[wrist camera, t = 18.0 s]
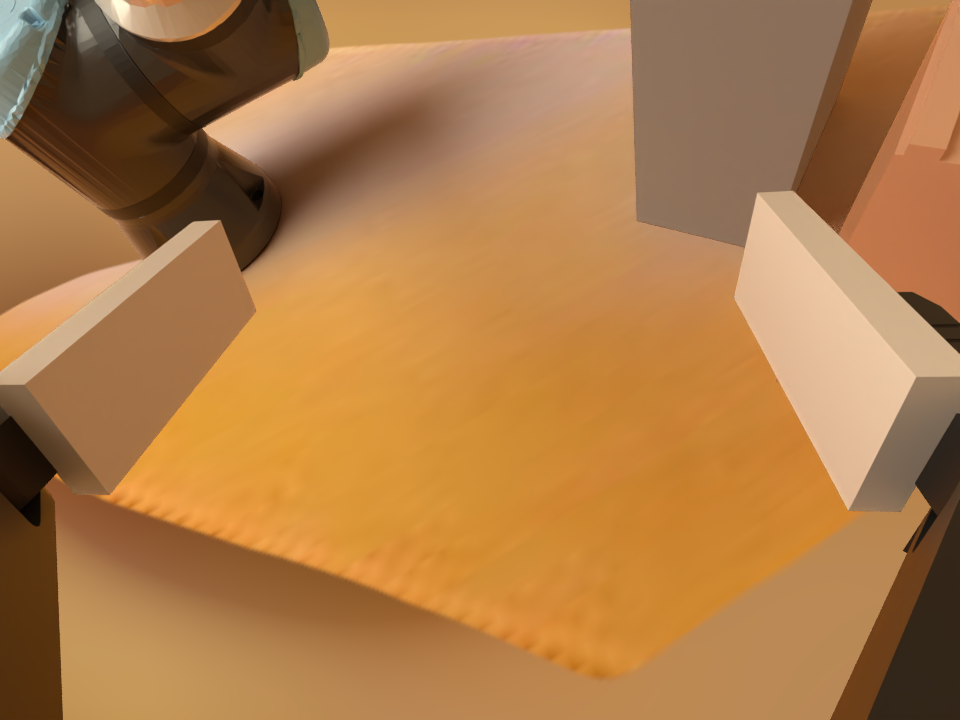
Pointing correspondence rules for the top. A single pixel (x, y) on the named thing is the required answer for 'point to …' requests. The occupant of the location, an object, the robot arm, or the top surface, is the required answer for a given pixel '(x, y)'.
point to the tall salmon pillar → (918, 183)
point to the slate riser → (731, 103)
